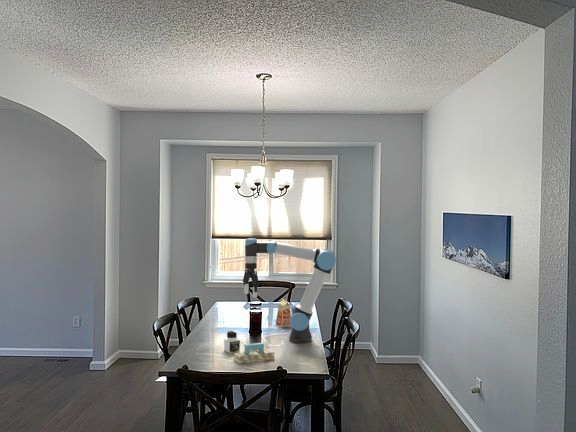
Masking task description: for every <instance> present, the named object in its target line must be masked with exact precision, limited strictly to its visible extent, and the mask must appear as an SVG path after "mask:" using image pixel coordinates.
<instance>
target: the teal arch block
mask: <svg viewBox="0 0 576 432" xmlns="http://www.w3.org/2000/svg"><path fill="white" fill-rule="evenodd" d="M251 350H259V354H260V353H264V350H265V344H264V343H263V342H254V343H246V344H244V352H245V354H246V355H249V354H250V353H251V352H250V351H251Z"/></svg>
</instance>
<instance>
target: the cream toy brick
mask: <svg viewBox="0 0 576 432" xmlns="http://www.w3.org/2000/svg"><path fill="white" fill-rule="evenodd" d="M255 350H256V351H252V352H250V354H249V355H246V354H245V351H239V352H233V361H235V362H236V363H237V364H246V363H252V362H263V361H271V360H275V351H274V350H271V349H269V348H268V349H267V348H264V353H260V354H259V349H255Z"/></svg>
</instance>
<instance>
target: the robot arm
mask: <svg viewBox="0 0 576 432" xmlns="http://www.w3.org/2000/svg"><path fill="white" fill-rule="evenodd" d="M244 244H245V245H244V262H245V263H244V268H245V269H244V274H243V278H242V283H243V284H244V285H243V288H244V289H243V291H244V292H243V294H244V295H248V294H249V292H250V291H249V287H250V286H249V284H250V283H249V282H250V279H251V281H252V298H258V287H260V283H259V278H258V271H257V270H256V269H257V268H258V266H257V264H258V263H257V262H258V256H257V255H258V254H266V255H267V254H268V255H271V254H273V255H274V254H277V255H282V256H287V257H291V258H296V259H302V260H307V261H311V262H312V263H314V264H313V270H314V271H313V273H312V275H311V276H310V277H311V278H310V279H309V282H308V284H307V286H306V288H305V291H304V293H303V296H301V300H300V301H299V304H297V305H293V306H292V308H291V318H290V323H291V326H290V327H291V330H290V333H289V337H288V340H289V342H290V343H295V344H306V343H307V344H308V343H310V342H313V337H312V333H311V330H310V321H311V319H312V316H313V315H314V313H313V308H314V306H315V303H316V301H317V298H318V297H319V294H320V292H321V290H322V288H323V285H324V283H325V281H326V279H327V277H328V276H329V275H331V272H332V271H333V270H334V269H333V268H335V266H336V264H337V258H336V254H335V253H334V251H332V250H331V249H326V248H325V249H323V248H317V247H316V248H315V249H314V248H308V247H304V246H303V247H302V246H298V245H293V244H288V243H283V242H278V241H273V240H270V239H268V240H265V241H258V239H257V238H251V237H250V238H245V242H244Z"/></svg>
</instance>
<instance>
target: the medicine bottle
mask: <svg viewBox="0 0 576 432" xmlns="http://www.w3.org/2000/svg"><path fill="white" fill-rule="evenodd" d="M240 345H241V340H240V339H239V338H238V332H237V331H235V330H228V331H227V333H226V338H225V339H223V347H224V348H223V351H224V352H227V353H229V354H232V353H233V354H234V353H240V352H241V351H240V349H241V346H240Z"/></svg>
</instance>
